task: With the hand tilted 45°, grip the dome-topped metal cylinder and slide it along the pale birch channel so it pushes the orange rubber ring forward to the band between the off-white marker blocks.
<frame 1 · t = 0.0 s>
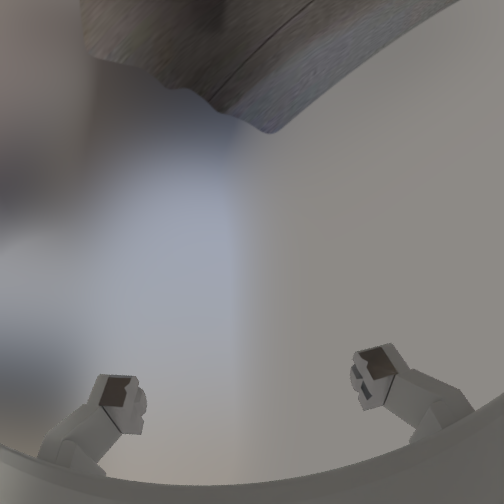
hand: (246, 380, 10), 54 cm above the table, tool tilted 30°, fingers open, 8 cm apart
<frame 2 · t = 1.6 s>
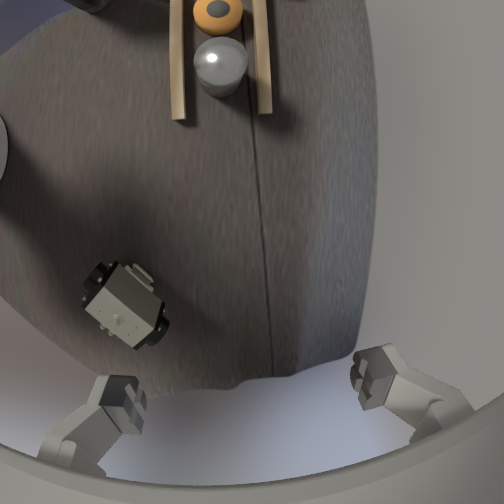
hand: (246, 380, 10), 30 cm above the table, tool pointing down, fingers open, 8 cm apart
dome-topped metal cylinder: (220, 79, 31), on the table
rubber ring: (218, 17, 27), on the table
beverage cup: (97, 1, 23), on the table
guide track: (218, 26, 28), on the table
pneumatic valve: (137, 277, 40), on the table
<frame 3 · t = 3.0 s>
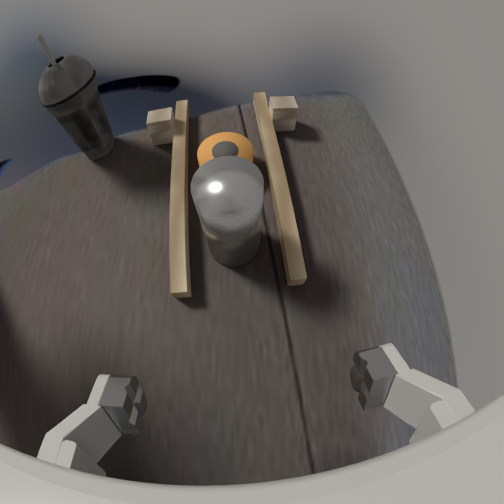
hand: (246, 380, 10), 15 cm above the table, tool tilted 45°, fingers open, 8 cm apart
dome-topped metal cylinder: (234, 242, 28), on the table
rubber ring: (226, 168, 32), on the table
beverage cup: (101, 148, 34), on the table
guide track: (227, 177, 31), on the table
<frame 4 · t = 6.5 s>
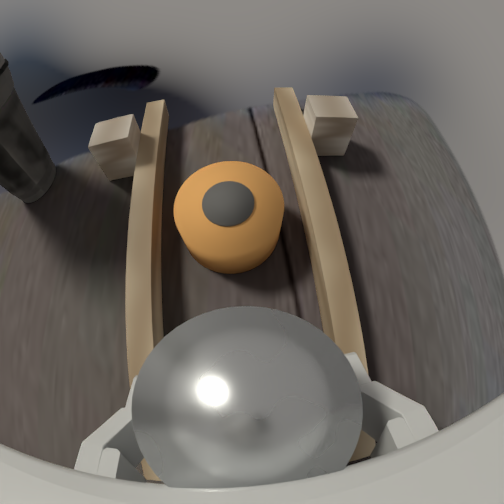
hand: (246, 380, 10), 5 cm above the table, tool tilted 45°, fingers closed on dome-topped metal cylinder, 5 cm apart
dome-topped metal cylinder: (249, 386, 14), on the table, touching gripper
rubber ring: (231, 228, 18), on the table
beverage cup: (38, 182, 20), on the table
guide track: (233, 249, 17), on the table
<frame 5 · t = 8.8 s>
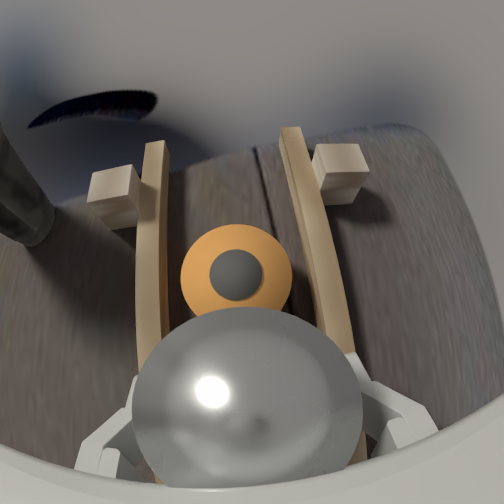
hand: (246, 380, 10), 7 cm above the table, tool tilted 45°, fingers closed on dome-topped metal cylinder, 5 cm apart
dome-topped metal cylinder: (249, 386, 14), point 1 cm above the table, touching gripper
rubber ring: (238, 289, 18), on the table
beverage cup: (37, 224, 20), on the table
guide track: (240, 311, 17), on the table
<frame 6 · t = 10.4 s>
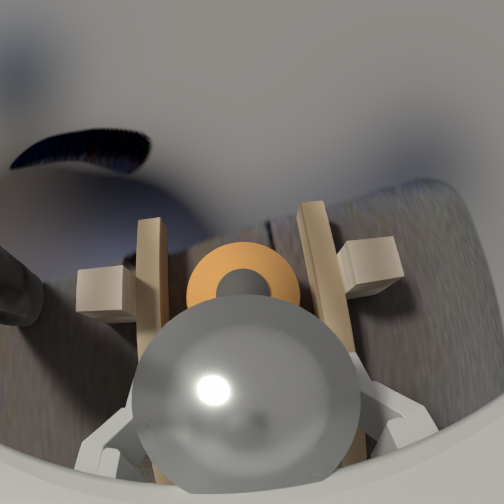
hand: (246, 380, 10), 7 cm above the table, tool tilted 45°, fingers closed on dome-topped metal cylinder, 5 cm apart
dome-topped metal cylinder: (250, 399, 14), point 1 cm above the table, tilted 7°, touching gripper
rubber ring: (244, 306, 18), on the table
beverage cup: (27, 300, 17), on the table
guide track: (254, 422, 15), on the table
when the fingers open (6 cm above the table, at t = 11.4 s): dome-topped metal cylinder stays where it is, on the table.
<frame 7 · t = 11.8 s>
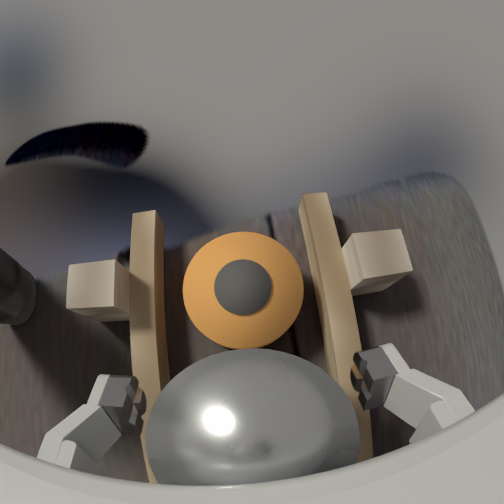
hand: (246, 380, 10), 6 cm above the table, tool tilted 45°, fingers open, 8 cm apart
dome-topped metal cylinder: (250, 399, 14), on the table
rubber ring: (244, 300, 17), on the table
beverage cup: (20, 297, 17), on the table
guide track: (254, 426, 14), on the table
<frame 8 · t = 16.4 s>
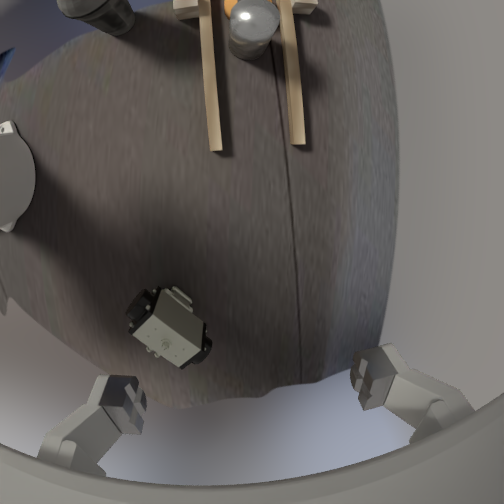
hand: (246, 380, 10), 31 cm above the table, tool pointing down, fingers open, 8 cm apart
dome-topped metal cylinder: (247, 43, 30), on the table
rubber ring: (246, 9, 28), on the table
beverage cup: (120, 23, 27), on the table
guide track: (248, 54, 31), on the table
pneumatic valve: (175, 298, 44), on the table
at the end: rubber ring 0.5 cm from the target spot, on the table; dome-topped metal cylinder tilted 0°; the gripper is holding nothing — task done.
